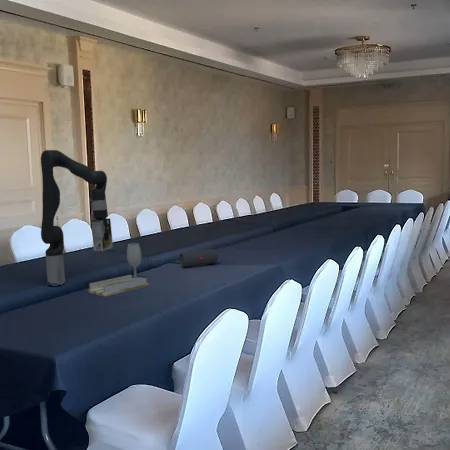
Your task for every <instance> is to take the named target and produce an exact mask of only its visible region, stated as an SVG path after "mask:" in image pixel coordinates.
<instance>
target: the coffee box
mask: <svg viewBox="0 0 450 450" xmlns="http://www.w3.org/2000/svg"><path fill="white" fill-rule="evenodd" d="M106 220H110V226H111V227H112V223H111V222H112V221H111V218H108V217H107V218H106ZM90 223H91V224H90V226H91V236H92V246H93V252H94V251H95V252H104V251H107V250H111V249H113V248H114V244H113V234H112V230H111V231H110V232H109V240H105V237H104V229H103V228H104V227H105V223H103V220H99V219H96V220H95V219H92V220H90ZM108 229H109V227H108ZM105 230H106V229H105Z"/></svg>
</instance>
